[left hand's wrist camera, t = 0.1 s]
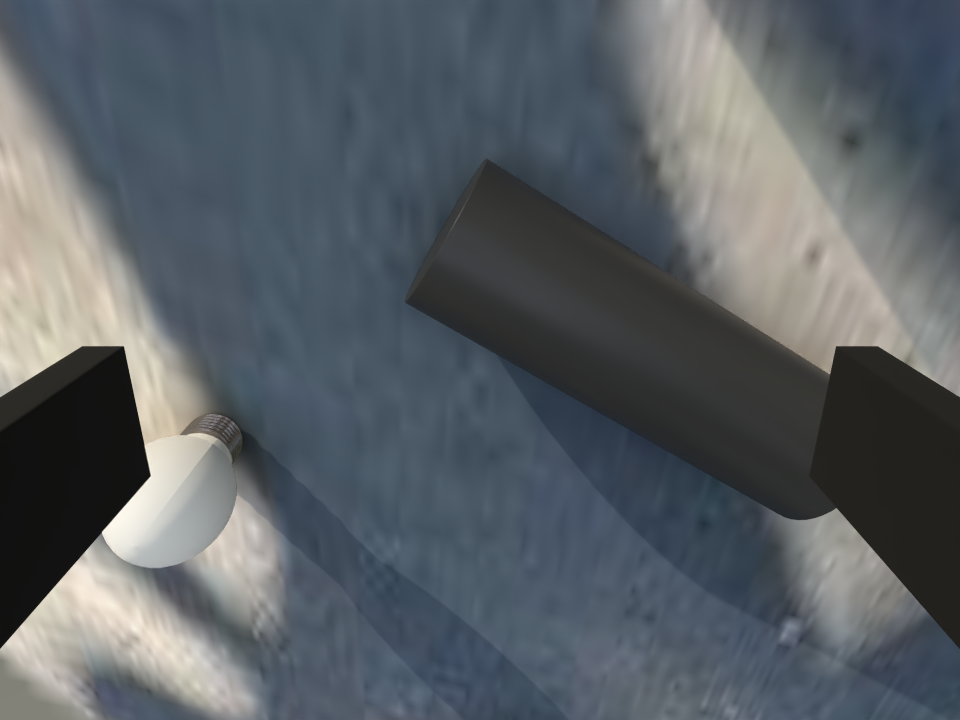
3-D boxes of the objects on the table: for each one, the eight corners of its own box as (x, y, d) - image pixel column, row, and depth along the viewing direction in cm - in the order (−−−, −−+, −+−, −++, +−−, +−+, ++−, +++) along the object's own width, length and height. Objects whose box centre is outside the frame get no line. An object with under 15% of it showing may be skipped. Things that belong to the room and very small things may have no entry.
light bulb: (195, 376, 42) (105, 464, 32) (285, 435, 44) (226, 537, 34) (145, 449, 44) (44, 554, 34) (233, 503, 46) (162, 619, 36)
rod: (412, 278, 40) (396, 323, 32) (486, 152, 38) (487, 166, 30) (744, 470, 45) (801, 549, 37) (830, 370, 42) (911, 432, 34)
